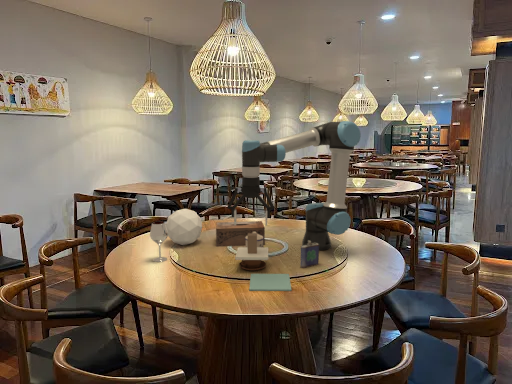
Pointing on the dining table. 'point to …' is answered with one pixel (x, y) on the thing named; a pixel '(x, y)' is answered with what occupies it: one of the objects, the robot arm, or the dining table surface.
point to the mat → (270, 282)
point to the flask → (309, 255)
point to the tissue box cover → (237, 232)
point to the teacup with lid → (259, 240)
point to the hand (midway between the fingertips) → (250, 224)
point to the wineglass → (159, 237)
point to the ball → (184, 226)
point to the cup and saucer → (252, 264)
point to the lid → (252, 250)
